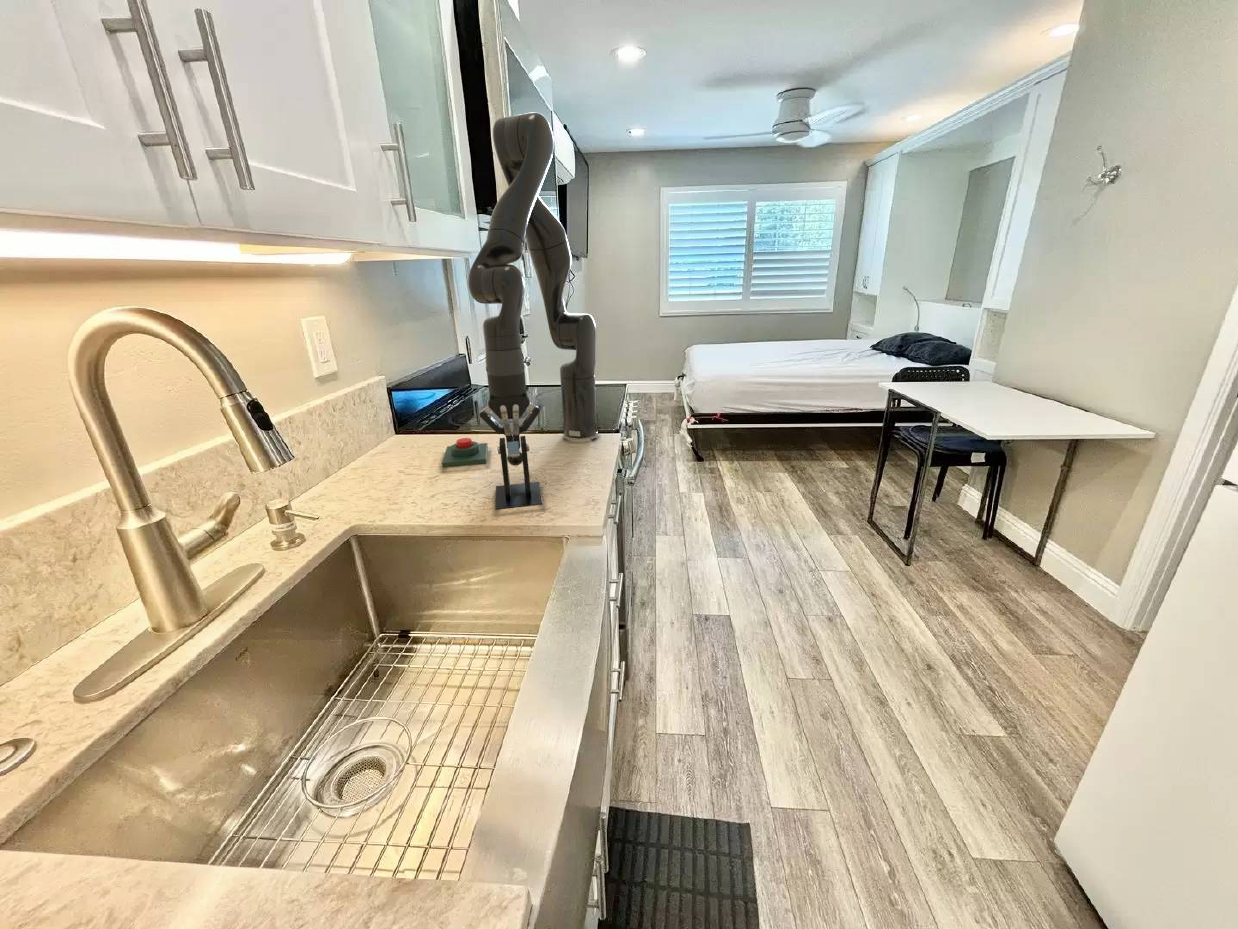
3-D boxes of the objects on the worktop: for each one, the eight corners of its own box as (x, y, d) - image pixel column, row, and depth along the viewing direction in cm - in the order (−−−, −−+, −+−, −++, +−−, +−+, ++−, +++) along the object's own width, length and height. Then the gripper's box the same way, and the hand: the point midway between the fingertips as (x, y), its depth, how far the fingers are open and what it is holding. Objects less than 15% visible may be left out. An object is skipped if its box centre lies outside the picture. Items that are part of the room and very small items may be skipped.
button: (457, 445, 121) (456, 438, 121) (473, 443, 122) (472, 437, 121) (456, 450, 118) (455, 443, 117) (472, 448, 119) (471, 441, 118)
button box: (448, 454, 126) (446, 439, 124) (488, 450, 128) (486, 436, 126) (443, 471, 115) (440, 455, 113) (486, 467, 117) (484, 451, 115)
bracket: (496, 491, 104) (489, 433, 99) (539, 486, 106) (534, 429, 101) (496, 514, 94) (487, 451, 89) (543, 509, 96) (537, 447, 91)
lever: (508, 467, 108) (507, 452, 108) (524, 466, 108) (522, 450, 109) (505, 457, 94) (503, 439, 94) (523, 455, 95) (521, 438, 95)
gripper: (537, 365, 104) (543, 442, 110) (473, 369, 102) (483, 447, 108) (539, 372, 97) (546, 453, 104) (470, 376, 95) (481, 459, 101)
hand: (514, 450), depth 106 cm, fingers closed
